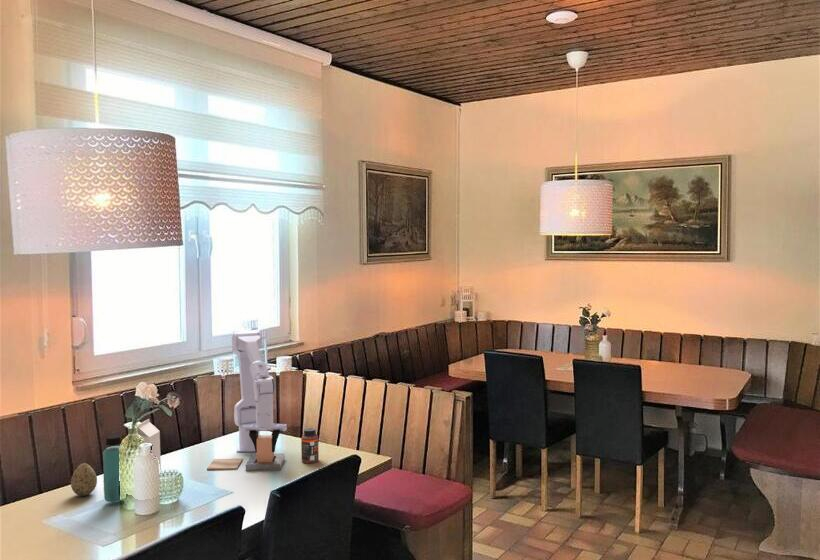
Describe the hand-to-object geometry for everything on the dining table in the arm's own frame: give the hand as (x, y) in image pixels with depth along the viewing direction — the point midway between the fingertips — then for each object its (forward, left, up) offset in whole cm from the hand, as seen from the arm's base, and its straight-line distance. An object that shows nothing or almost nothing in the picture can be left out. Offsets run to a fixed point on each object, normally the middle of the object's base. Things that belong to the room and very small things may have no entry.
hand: (265, 451), depth 231 cm
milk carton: (+11, -37, -5) cm, 39 cm away
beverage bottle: (+31, -39, -5) cm, 50 cm away
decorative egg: (+24, -51, -5) cm, 57 cm away
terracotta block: (0, 0, -3) cm, 3 cm away
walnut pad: (-1, -14, -5) cm, 15 cm away
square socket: (0, 0, -5) cm, 5 cm away
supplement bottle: (-3, +15, -5) cm, 16 cm away
